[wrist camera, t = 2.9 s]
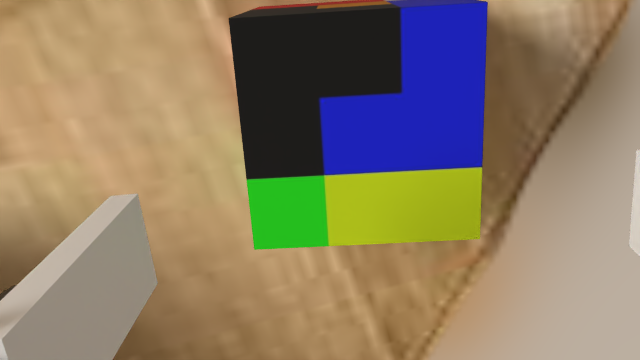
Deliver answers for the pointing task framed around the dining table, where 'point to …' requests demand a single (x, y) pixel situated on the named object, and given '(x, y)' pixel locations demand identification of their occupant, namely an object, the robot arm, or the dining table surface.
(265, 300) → the dining table surface
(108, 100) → the dining table surface
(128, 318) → the robot arm
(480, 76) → the puzzle toy
